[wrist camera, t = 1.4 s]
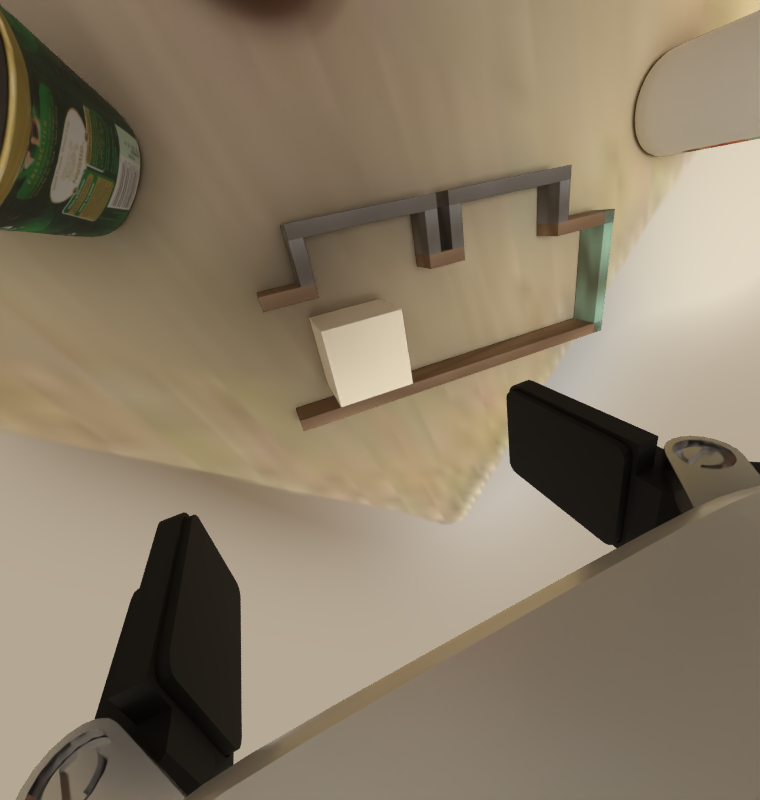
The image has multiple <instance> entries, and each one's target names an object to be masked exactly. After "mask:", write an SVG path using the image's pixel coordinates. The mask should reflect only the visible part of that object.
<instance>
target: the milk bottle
mask: <svg viewBox="0 0 760 800" xmlns="http://www.w3.org/2000/svg"><path fill="white" fill-rule="evenodd" d="M635 131H636V136H637V139H638V141H639V144H640V146H641V147H642V148H643V150H645V151H646V152H647V153H649V154H652V155H654V156H668V155H674V154H680V153H685V152H690V151H696V150H701V149H706V148H712V147H717V146H722V145H728V144H732V143H738V142H743V141H748V140H753V139H758V138H760V10H759V11H757V12H754V13H752V14H750V15H747V16H745V17H743V18H741V19H738V20H736V21H734V22H731V23H729V24H727V25H724V26H722V27H720V28H717V29H715V30H713V31H711V32H708V33H706V34H704V35H701V36H699V37H697V38H695V39H692V40H690V41H688V42H686V43H684V44H681V45H679V46H677V47H675V48H673V49H671V50H670V51H668V52H667V53H666V54H665V55H664V56H663V57H661V58H660V59H659V60H658V61H657V62H656V64H655V65H654V66H653V67H652V69H651V70H650V72H649V74H648V75H647V77H646V78H645V81H644V83H643V85H642V87H641V90H640V93H639V96H638V100H637V105H636V110H635Z"/></svg>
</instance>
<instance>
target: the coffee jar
mask: <svg viewBox="0 0 760 800" xmlns="http://www.w3.org/2000/svg"><path fill="white" fill-rule="evenodd" d="M139 174H140V152H139V147H138V144H137V141H136V138H135V136H134V134H133V132H132V130H131V129H130V127H129V126H128V124H127V123H126V121H125V120H124V119H123V118H122V116H121V115H120V114H119V113H118V112H117V111H116V110H115V109H114V108H113V107H112V106H111V105H110V104H109V103H108V102H107V101H106V100H105V99H103V98H102V97H101V96H100V95H99V94H98V93H97V92H96V91H95V90H94V89H93V88H91V87H90V86H89V85H88V84H87V83H86V82H85V81H83V80H82V79H81V78H80V77H79V76H78V75H77V74H76V73H75V72H74V71H72V70H71V69H70V68H69V67H68V66H67V65H66V64H65V63H64V62H62V61H61V60H60V59H59V58H58V57H57V56H56V55H55V54H54V53H53V52H52V51H50V50H49V49H48V48H47V47H46V46H45V45H44V44H43V43H42V42H41V41H40V40H39V39H37V38H36V37H35V36H34V35H33V34H32V33H31V32H30V31H29V30H28V29H27V28H26V27H25V26H24V25H22V24H21V23H20V22H19V21H18V20H17V19H16V18H15V17H14V16H13V15H12V14H10V13H9V12H8V11H7V10H6V9H5V8H4V7H3V6H2V5H1V4H0V230H6V231H23V232H34V233H45V234H54V235H67V236H85V237H94V236H101V235H105V234H108V233H110V232H112V231H114V230H115V229H116V228H118V227H119V226H120V225H121V223H122V222H123V221H124V219H125V218H126V216H127V214H128V212H129V210H130V207H131V205H132V203H133V200H134V197H135V195H136V191H137V187H138V182H139Z"/></svg>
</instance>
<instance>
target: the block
mask: <svg viewBox="0 0 760 800" xmlns="http://www.w3.org/2000/svg"><path fill="white" fill-rule="evenodd" d="M309 319H310V322H311V326H312V330H313V333H314V337H315V340H316V344H317V347H318V351H319V354H320V358H321V362H322V365H323V369H324V372H325V376H326V379H327V383H328V385H329V387H330V389H331V391H332V392H333V394H334V396H335V397H336V399H337V401H338V402H339V404H340V406H341V407H344V406H347V405H350V404H353V403H356V402H359V401H362V400H365V399H368V398H371V397H374V396H377V395H380V394H383V393H386V392H389V391H392V390H395V389H398V388H401V387H404V386H407V385H410V384H413V380H412V373H411V367H410V360H409V354H408V347H407V341H406V334H405V328H404V321H403V315H402V309H400V308H398V307H396V306H393V305H391V304H389V303H387V302H385V301H383V300H380V299H377V300H373V301H369V302H366V303H362V304H358V305H354V306H351V307H347V308H343V309H340V310H336V311H332V312H328V313H325V314H321V315H317V316H314V317H310V318H309Z"/></svg>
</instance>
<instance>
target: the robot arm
mask: <svg viewBox="0 0 760 800" xmlns="http://www.w3.org/2000/svg"><path fill="white" fill-rule="evenodd" d="M507 416H508V435H509V454H510V464H511V467H512V468H513V470H514V471H515V472H516V473H517V474H518V475H519V476H521V477H522V478H523V479H525V480H526V481H527V482H528V483H530V484H531V485H532V486H533V487H535V488H536V489H537V490H538V491H540V492H541V493H542V494H543V495H545V496H546V497H547V498H548V499H550V500H551V501H552V502H553V503H555V504H556V505H557V506H558V507H560V508H561V509H562V510H563V511H565V512H566V513H567V514H569V515H570V516H571V517H572V518H574V519H575V520H576V521H577V522H579V523H580V524H581V525H582V526H584V527H585V528H586V529H588V530H589V531H590V532H591V533H592V534H594V535H595V536H596V537H597V538H599V539H600V540H601V541H603V542H604V543H606V544H608V545H613V546H615V547H616V548H617V549H615V550H613V551H611V552H610V553H608V554H606V555H604V556H602V557H601V558H599V559H597V560H595V561H593V562H591V563H590V564H588V565H586V566H584V567H582V568H580V569H578V570H577V571H575V572H573V573H571V574H569V575H567V576H566V577H564V578H562V579H560V580H558V581H556V582H555V583H553V584H551V585H549V586H547V587H546V588H544V589H542V590H540V591H538V592H537V593H535V594H533V595H531V596H529V597H528V598H526V599H524V600H522V601H520V602H519V603H517V604H515V605H513V606H511V607H509V608H508V609H506V610H504V611H502V612H500V613H498V614H497V615H495V616H493V617H491V618H490V619H488V620H486V621H484V622H482V623H480V624H479V625H477V626H475V627H473V628H472V629H470V630H468V631H466V632H464V633H462V634H461V635H459V636H457V637H455V638H454V639H452V640H450V641H448V642H446V643H444V644H443V645H441V646H439V647H437V648H436V649H434V650H432V651H430V652H428V653H427V654H425V655H423V656H421V657H419V658H418V659H416V660H414V661H412V662H410V663H409V664H407V665H405V666H403V667H402V668H400V669H398V670H396V671H395V672H393V673H391V674H389V675H387V676H386V677H384V678H382V679H380V680H379V681H377V682H375V683H373V684H371V685H369V686H368V687H366V688H364V689H362V690H361V691H359V692H357V693H355V694H354V695H352V696H350V697H348V698H346V699H345V700H343V701H341V702H339V703H338V704H336V705H334V706H332V707H330V708H329V709H327V710H325V711H323V712H322V713H320V714H318V715H317V716H315V717H313V718H311V719H310V720H308V721H306V722H305V723H303V724H301V725H299V726H298V727H296V728H294V729H293V730H291V731H289V732H287V733H286V734H284V735H282V736H281V737H279V738H277V739H276V740H274V741H272V742H271V743H269V744H267V745H265V746H263V747H262V748H260V749H258V750H257V751H255V752H253V753H251V754H250V755H248V756H247V757H245V758H244V759H242V760H240V761H239V762H237V763H236V764H234V765H233V752H234V751H236V750H238V749H239V748H240V746H241V738H242V729H241V728H242V723H241V614H240V613H241V611H240V609H241V608H240V607H241V606H240V591H239V587H238V584H237V582H236V580H235V579H234V577H233V575H232V574H231V572H230V570H229V569H228V567H227V565H226V564H225V562H224V560H223V558H222V557H221V555H220V554H219V552H218V550H217V548H216V547H215V545H214V543H213V541H212V540H211V538H210V536H209V535H208V533H207V531H206V530H205V528H204V526H203V524H202V523H201V521H200V519H199V518H198V517H197V516H196V515H192V516H189V515H188V514H187V513H181V514H179V515H176V516H174V517H171V518H168V519H166V520H163V521H161V522H159V524H158V527H157V531H156V534H155V537H154V541H153V544H152V548H151V551H150V554H149V558H148V561H147V565H146V568H145V572H144V575H143V579H142V582H141V585H140V588H139V589H138V590H137V591H135V592H134V594H133V597H132V599H131V602H130V605H129V608H128V612H127V615H126V618H125V622H124V625H123V628H122V632H121V634H120V638H119V641H118V644H117V648H116V651H115V654H114V657H113V661H112V664H111V667H110V671H109V674H108V677H107V680H106V684H105V687H104V690H103V693H102V697H101V700H100V703H99V707H98V710H97V713H96V716H95V720H92V721H90V722H87V723H85V724H83V725H81V726H80V727H78V728H77V729H75V730H74V731H72V732H71V733H69V734H68V735H66V736H65V737H64V738H63V739H62V740H61V741H60V742H59V743H57V745H55V746H54V747H53V748H52V749H51V750H50V751H49V752H48V753H47V755H46V756H45V757H44V758H43V759H42V760H41V761H40V763H39V764H38V765H37V766H36V767H35V769H34V770H33V771H32V773H31V775H30V776H29V778H28V779H27V781H26V782H25V784H24V785H23V787H22V789H21V790H20V792H19V794H18V796H17V799H16V800H760V462H749V461H748V460H747V458H746V457H745V456H744V455H743V454H742V453H741V452H740V451H739V450H738V449H736V448H734V447H732V446H731V445H729V444H727V443H724V442H721V441H718V440H715V439H711V438H705V437H698V436H685V437H678V438H673V439H671V440H669V441H668V442H666V444H665V446H664V449H662V448H660V447H658V446H657V440H658V436H656V435H654V434H652V433H650V432H647V431H645V430H643V429H640V428H638V427H636V426H634V425H631V424H629V423H627V422H625V421H622V420H620V419H618V418H615V417H613V416H611V415H609V414H606V413H604V412H602V411H600V410H597V409H595V408H593V407H591V406H588V405H586V404H584V403H581V402H579V401H577V400H574V399H572V398H570V397H568V396H565V395H563V394H561V393H558V392H556V391H554V390H552V389H550V388H547V387H545V386H543V385H540V384H538V383H536V382H534V381H531V380H527V381H524V382H522V383H519V384H517V385H514V386H512V387H511V388H510V392H509V393H508V394H507Z"/></svg>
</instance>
